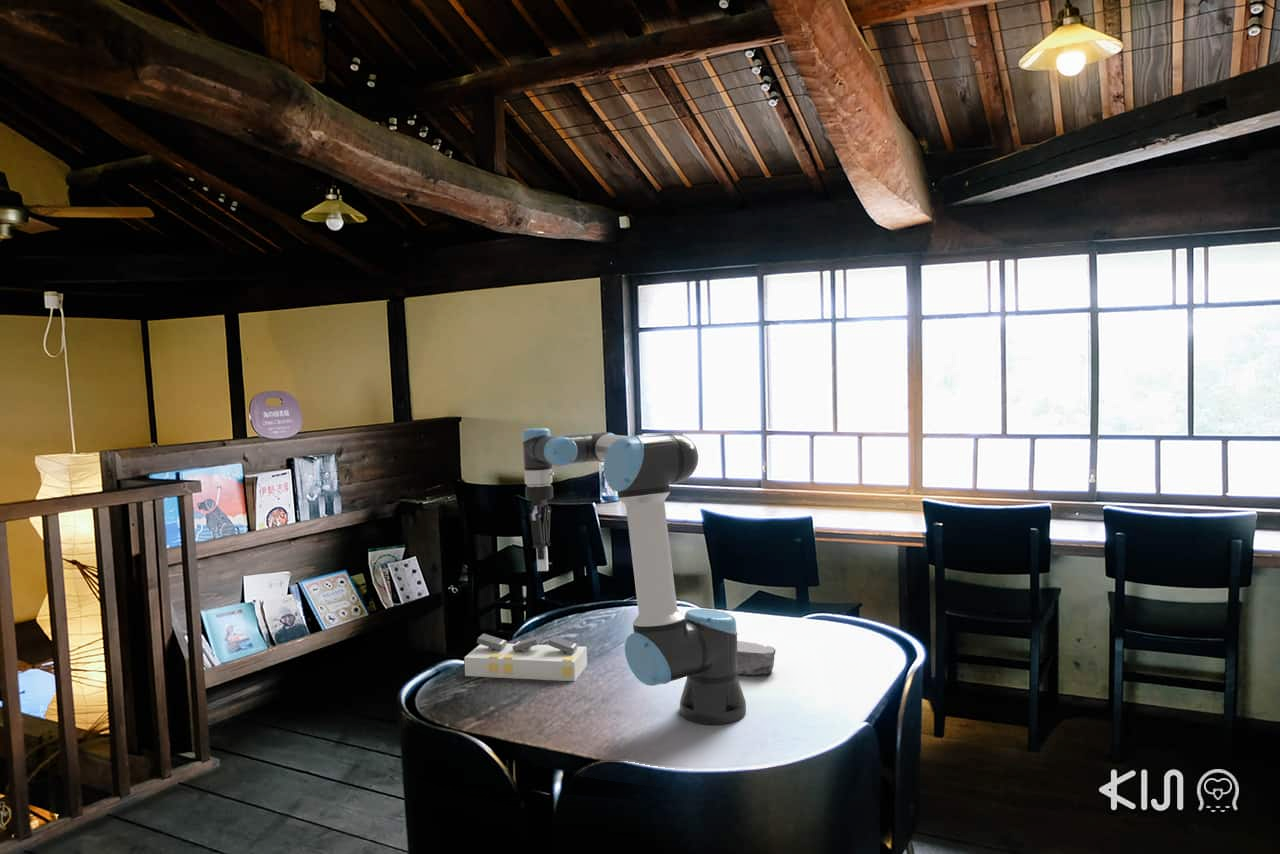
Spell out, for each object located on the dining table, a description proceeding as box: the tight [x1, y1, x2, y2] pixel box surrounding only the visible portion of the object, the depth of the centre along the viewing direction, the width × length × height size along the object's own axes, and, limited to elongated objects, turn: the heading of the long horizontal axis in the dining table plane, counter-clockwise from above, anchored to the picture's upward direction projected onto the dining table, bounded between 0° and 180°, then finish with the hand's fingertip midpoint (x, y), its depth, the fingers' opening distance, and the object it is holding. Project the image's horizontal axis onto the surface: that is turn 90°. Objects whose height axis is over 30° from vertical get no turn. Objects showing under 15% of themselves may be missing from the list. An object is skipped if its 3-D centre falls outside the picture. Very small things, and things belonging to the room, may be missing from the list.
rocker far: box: [476, 633, 508, 651], centre depth 219 cm, size 4×7×2 cm, turn 78°
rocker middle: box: [512, 634, 543, 652], centre depth 217 cm, size 4×7×2 cm, turn 79°
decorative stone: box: [737, 640, 777, 678], centre depth 211 cm, size 15×7×10 cm
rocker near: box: [547, 635, 579, 654], centre depth 215 cm, size 4×7×2 cm, turn 78°
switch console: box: [463, 643, 588, 682], centre depth 216 cm, size 12×30×6 cm, turn 78°
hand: (542, 570), depth 223 cm, fingers closed
